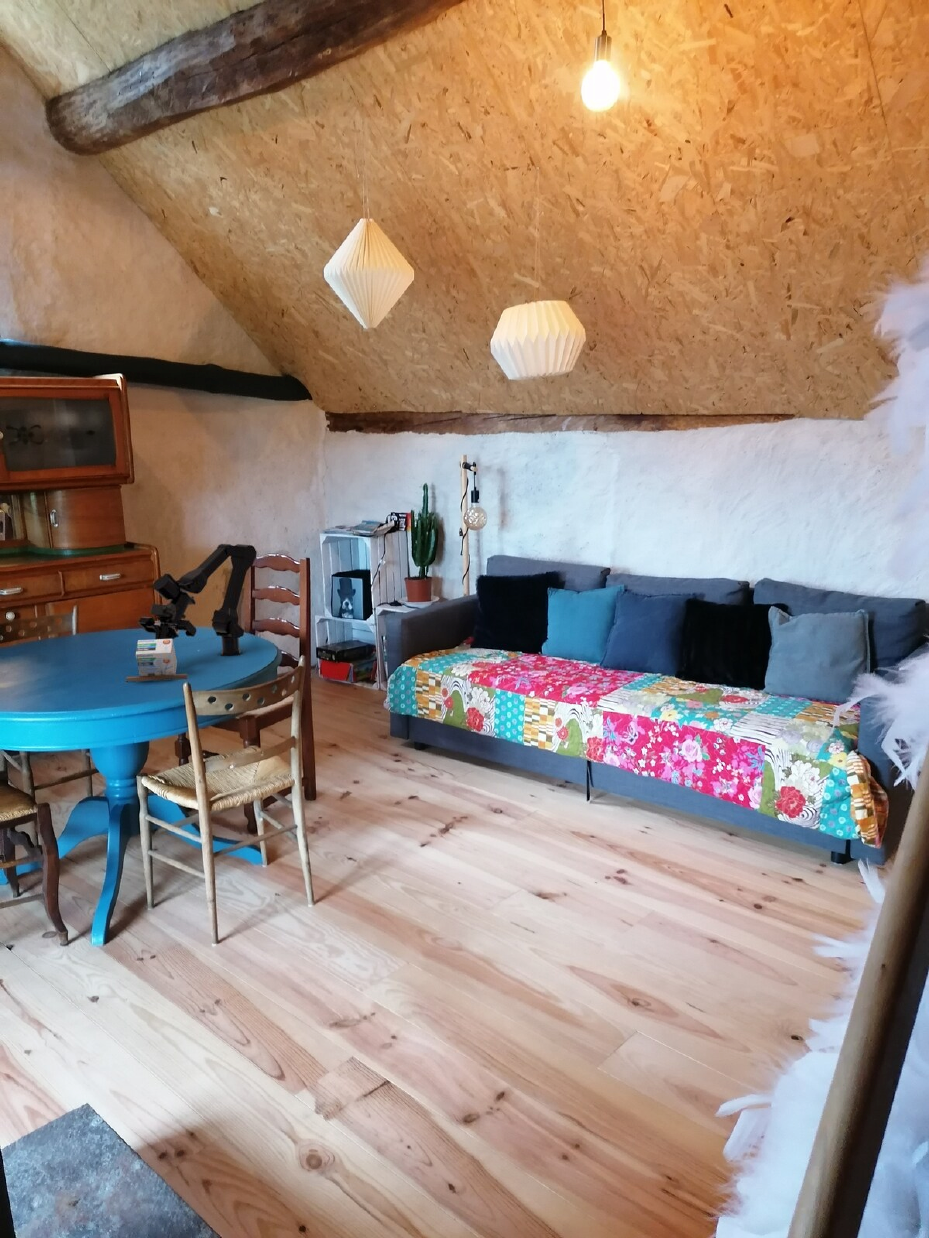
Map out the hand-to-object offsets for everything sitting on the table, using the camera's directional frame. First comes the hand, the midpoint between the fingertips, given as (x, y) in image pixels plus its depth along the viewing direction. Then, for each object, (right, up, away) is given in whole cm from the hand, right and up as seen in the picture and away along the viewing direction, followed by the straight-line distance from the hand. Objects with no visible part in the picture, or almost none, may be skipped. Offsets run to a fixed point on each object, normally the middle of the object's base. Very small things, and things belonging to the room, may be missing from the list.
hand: (156, 648), depth 261 cm
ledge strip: (+1, -10, -2) cm, 10 cm away
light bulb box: (0, -7, +2) cm, 7 cm away
